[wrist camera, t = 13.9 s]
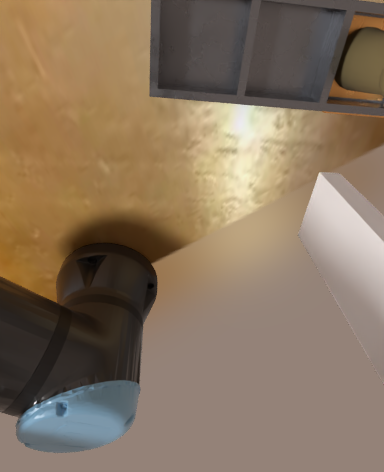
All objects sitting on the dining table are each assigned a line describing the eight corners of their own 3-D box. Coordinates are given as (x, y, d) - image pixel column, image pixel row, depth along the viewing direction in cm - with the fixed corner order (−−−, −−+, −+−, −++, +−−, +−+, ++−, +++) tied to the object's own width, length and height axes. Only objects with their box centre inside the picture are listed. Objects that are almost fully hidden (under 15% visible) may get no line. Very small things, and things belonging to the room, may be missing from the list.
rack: (420, 11, 33) (447, 11, 30) (380, 110, 39) (399, 119, 36) (153, -22, 31) (151, -26, 27) (151, 90, 36) (149, 98, 33)
